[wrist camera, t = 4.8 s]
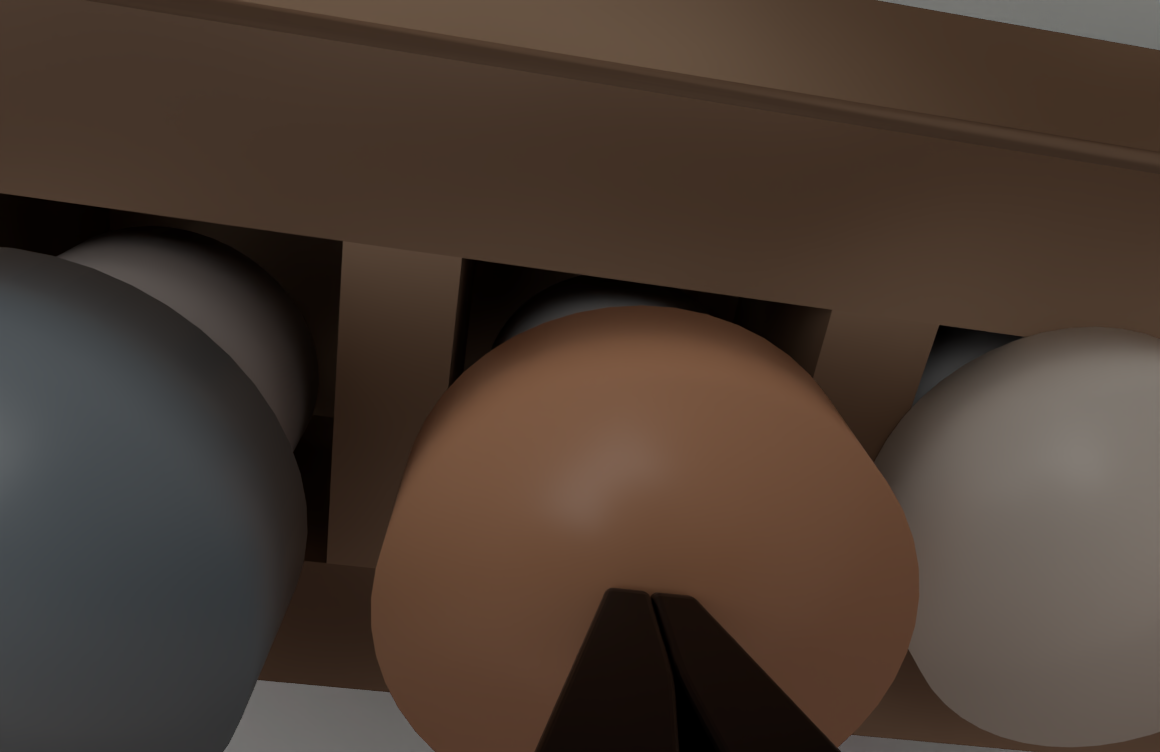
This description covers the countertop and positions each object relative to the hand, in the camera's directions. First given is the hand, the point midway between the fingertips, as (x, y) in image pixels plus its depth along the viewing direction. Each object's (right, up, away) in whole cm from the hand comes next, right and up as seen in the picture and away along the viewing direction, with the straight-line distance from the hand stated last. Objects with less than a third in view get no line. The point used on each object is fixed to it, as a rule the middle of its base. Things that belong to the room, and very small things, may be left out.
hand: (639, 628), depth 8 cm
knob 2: (+6, +2, +7) cm, 9 cm away
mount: (0, +3, +8) cm, 8 cm away
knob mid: (0, +2, +5) cm, 5 cm away
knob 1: (-6, +3, +4) cm, 7 cm away
